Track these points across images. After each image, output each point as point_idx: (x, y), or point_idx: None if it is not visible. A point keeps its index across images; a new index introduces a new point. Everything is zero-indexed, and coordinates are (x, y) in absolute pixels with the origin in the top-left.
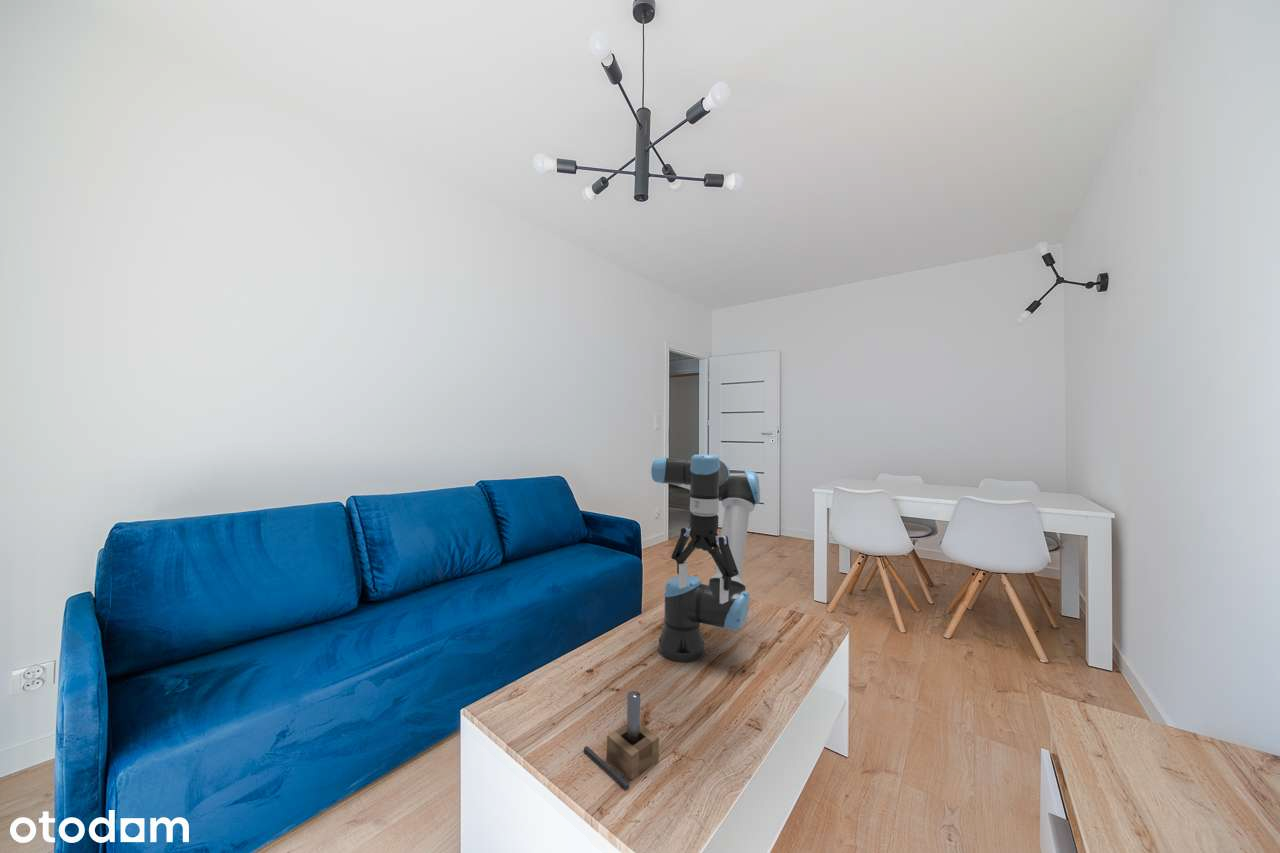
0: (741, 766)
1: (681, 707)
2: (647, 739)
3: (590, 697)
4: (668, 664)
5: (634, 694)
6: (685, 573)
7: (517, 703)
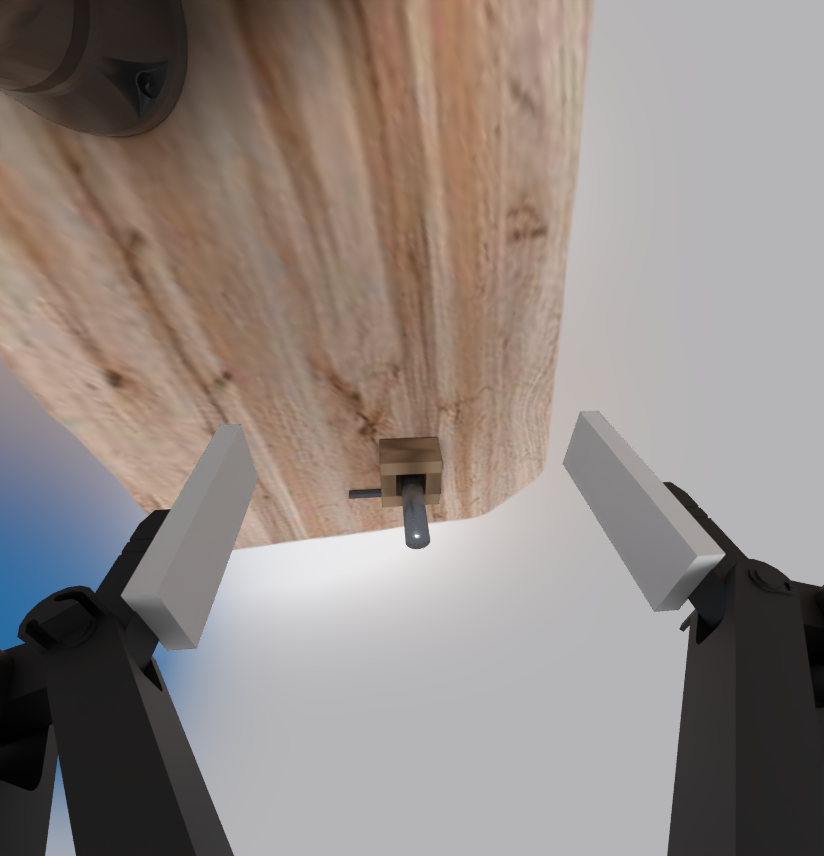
0: (546, 352)
1: (366, 311)
2: (432, 475)
3: None
4: (168, 168)
5: (417, 540)
6: (211, 517)
7: None
